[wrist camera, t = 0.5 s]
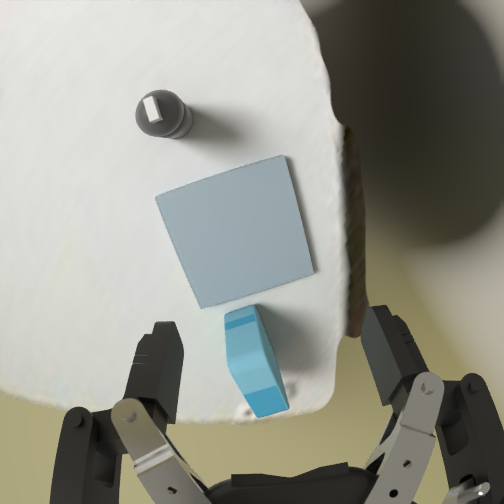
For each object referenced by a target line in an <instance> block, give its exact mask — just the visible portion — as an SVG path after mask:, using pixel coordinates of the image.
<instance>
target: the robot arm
mask: <svg viewBox="0 0 504 504" xmlns="http://www.w3.org/2000/svg"><path fill="white" fill-rule="evenodd" d="M361 342H362V346H363V349H364V351H365V354H366V357H367V360H368V363H369V366H370V368H371V371H372V374H373V377H374V380H375V383H376V386H377V389H378V393H379V395H380V399H381V402H382V405H383V406H385V405H389V404H391V405H392V408H393V410H392V412H391V414H390V416H389V419H388V421H387V424H386V426H385V428H384V430H383V433H382V435H381V437H380V439H379V441H378V443H377V446H376V448H375V449H374V451H373V452H372V453H371V455H370V456H369V458H368V460H367V462H366V463H365V465H364V467H363V469H361V468H357V467H348V463H347V462H345V463H340V464H335V465H329V466H324V467H319V468H317V469H314V470H311V471H309V472H306V473H303V474H301V475H298V476H295V477H291V478H288V477H280V476H273V475H266V474H232V475H231V479H228V480H225V481H222V482H219V483H217V484H215V485H213V486H212V487H210V488H208V487H207V485H206V484H205V483H204V482H203V480H202V479H201V478H200V477H199V476H198V474H197V473H196V472H195V471H194V470H193V469H192V468H191V467H190V465H189V464H188V463H187V462H186V460H185V459H184V458H183V456H182V455H181V453H180V452H179V451H178V449H177V448H176V446H175V445H174V444H173V442H172V441H171V439H170V438H169V436H168V435H167V434H166V427H167V424H175V421H176V412H177V404H178V396H179V388H180V380H181V373H182V366H183V359H184V349H183V344H182V341H181V338H180V335H179V333H178V330H177V327H176V324H175V322H174V321H165V322H156V323H155V325H154V328H153V332H152V334H145V335H144V336H143V338H142V339H141V340H140V341H139V343H138V345H137V348H136V352H135V356H134V359H133V365H132V367H131V371H130V374H129V378H128V382H127V386H126V390H125V394H124V397H123V399H122V400H120V401H119V402H117V403H116V404H115V405H114V407H113V408H112V409H109V410H104V411H98V412H92V413H90V412H89V411H88V410H87V409H86V408H83V407H74V408H72V409H70V410H69V411H68V412H67V413H66V415H65V417H64V420H63V425H62V429H61V433H60V438H59V443H58V448H57V454H56V459H55V465H54V472H53V479H52V486H51V495H50V504H119V487H120V473H121V461H122V454H127V453H129V454H130V456H131V458H132V460H133V462H134V464H135V466H134V470H135V472H136V474H137V476H138V478H139V479H140V481H141V482H142V484H143V486H144V487H145V489H146V490H147V492H148V493H149V495H150V496H151V498H152V499H153V501H154V502H155V504H417V503H415V502H414V501H412V500H413V498H414V496H415V494H416V491H417V489H418V487H419V485H420V482H421V480H422V477H423V475H424V472H425V470H426V467H427V465H428V462H429V459H430V456H431V454H432V451H433V448H434V444H435V441H436V438H435V436H434V435H433V430H434V427H435V430H436V433H437V437H438V441H439V444H440V449H441V453H442V457H443V461H444V465H445V470H446V475H447V480H448V485H449V491H448V492H447V494H446V496H445V498H444V500H443V502H442V504H504V430H503V427H502V424H501V421H500V419H499V416H498V413H497V410H496V407H495V405H494V402H493V400H492V397H491V395H490V392H489V390H488V387H487V385H486V383H485V381H484V379H483V378H482V377H481V376H479V375H478V374H475V373H470V374H467V375H466V376H464V377H463V379H462V380H461V381H444V380H441V378H440V377H439V376H438V375H436V374H434V373H432V372H430V371H429V370H428V368H427V366H426V364H425V361H424V359H423V357H422V355H421V353H420V351H419V349H418V347H417V345H416V343H415V342H414V339H413V337H412V335H411V334H410V331H409V329H408V327H407V325H406V323H405V322H404V321H403V320H402V319H401V318H400V317H398V315H395V316H392V314H391V312H390V311H389V309H388V307H387V306H386V305H380V306H373V307H369V308H368V309H367V313H366V316H365V319H364V323H363V326H362V329H361Z"/></svg>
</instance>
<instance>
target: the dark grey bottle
mask: <svg viewBox="0 0 504 504" xmlns="http://www.w3.org/2000/svg"><path fill="white" fill-rule="evenodd" d="M135 116H136V122H137V124H138V126H139V128H140V129H141V130H142V131H143V132H144V133H146V134H148V135H150V136H154V137H163V138H171V139H176V138H180V137H182V136H184V135H185V134H187V133H188V132H189V130H190V129H191V127H192V124H193V116H192V113H191V111H190V110H189V109H188V107H187V106H186V105H185V104H184V103H183V102H182V100H181V99H180V98H179V97H178V96H177V95H176V94H174V93H173V92H171V91H168V90H156V91H152V92H150V93H148V94H147V95H145V96H144V97H143V98H142V99H141V101H140V102H139V104H138V106H137V108H136V115H135Z"/></svg>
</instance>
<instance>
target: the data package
mask: <svg viewBox="0 0 504 504" xmlns="http://www.w3.org/2000/svg"><path fill="white" fill-rule="evenodd" d="M224 322H225V341H226V358H227V365H228V368H229V371H230V373H231V375H232V377H233V379H234V381H235V382H236V384H237V386H238V387H239V389H240V391H241V392H242V394H243V396H244V397H245V399H246V401H247V402H248V404H249V406H250V407H251V409H252V410H253V412H254V414H255V415H256V417H258V418H261V417H264V416H268V415H271V414H275V413H278V412H281V411H285V410H288V409H289V403H288V399H287V396H286V392H285V388H284V385H283V381H282V377H281V374H280V370H279V366H278V363H277V359H276V356H275V354H274V351H273V348H272V346H271V344H270V341H269V339H268V336H267V334H266V331H265V329H264V326H263V324H262V321H261V319H260V316H259V313H258V311H257V308H256V306H255V305H251V306H248V307H245V308H242V309H239V310H236V311H233V312H230V313H227V314H225V315H224Z"/></svg>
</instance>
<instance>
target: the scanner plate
mask: <svg viewBox="0 0 504 504" xmlns="http://www.w3.org/2000/svg"><path fill="white" fill-rule="evenodd" d="M155 200H156V203H157V205H158V208H159V211H160V213H161V216H162V218H163V221H164V223H165V226H166V229H167V231H168V234H169V236H170V239H171V241H172V243H173V246H174V248H175V251H176V253H177V256H178V258H179V260H180V263H181V265H182V268H183V270H184V272H185V275H186V277H187V279H188V281H189V284H190V286H191V288H192V291H193V293H194V295H195V297H196V299H197V302H198V304H199V306H200V308H201V309H203V308H206V307H210V306H213V305H217V304H220V303H223V302H227V301H230V300H233V299H236V298H240V297H243V296H246V295H249V294H253V293H256V292H259V291H262V290H265V289H268V288H271V287H275V286H278V285H281V284H284V283H287V282H290V281H293V280H296V279H299V278H302V277H305V276H308V275H311V274H314V271H313V267H312V262H311V258H310V253H309V249H308V245H307V241H306V236H305V232H304V228H303V224H302V220H301V216H300V212H299V208H298V204H297V200H296V196H295V192H294V189H293V185H292V181H291V177H290V174H289V170H288V167H287V163H286V159H285V156H284V155H280V156H276V157H273V158H269V159H266V160H262V161H259V162H255V163H252V164H249V165H245V166H242V167H239V168H236V169H233V170H229V171H226V172H223V173H220V174H217V175H214V176H211V177H208V178H205V179H202V180H199V181H196V182H193V183H191V184H188V185H185V186H182V187H179V188H177V189H174V190H171V191H168V192H166V193H163V194H160V195H158V196H156V197H155Z"/></svg>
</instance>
